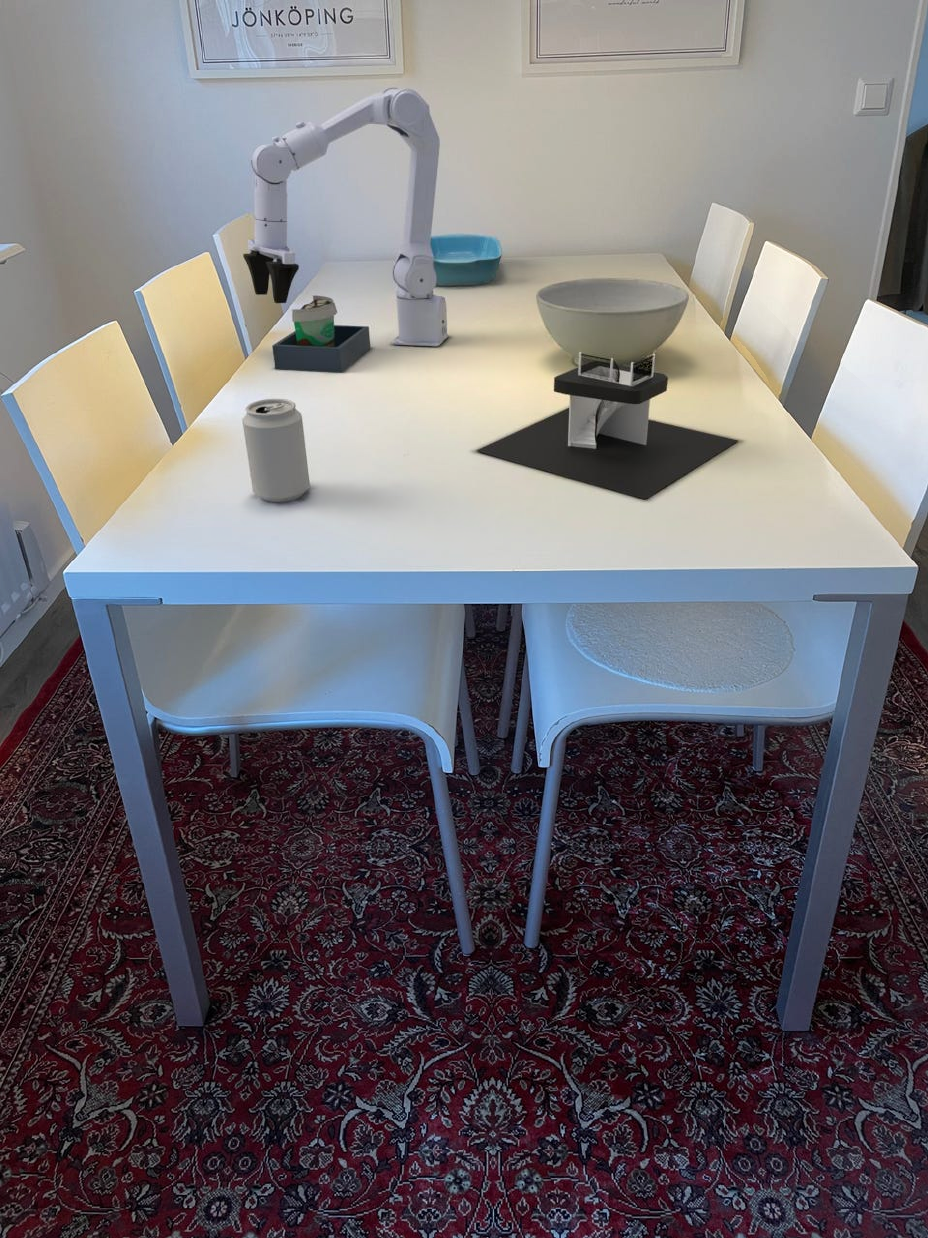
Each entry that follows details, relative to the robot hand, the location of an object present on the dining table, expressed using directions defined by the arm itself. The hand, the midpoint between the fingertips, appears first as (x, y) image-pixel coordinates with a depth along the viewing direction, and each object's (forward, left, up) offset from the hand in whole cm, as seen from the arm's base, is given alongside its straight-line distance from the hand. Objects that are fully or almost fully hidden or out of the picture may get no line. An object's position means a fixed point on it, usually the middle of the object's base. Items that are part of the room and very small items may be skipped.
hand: (270, 298), depth 174 cm
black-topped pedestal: (-67, +35, -11) cm, 77 cm away
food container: (-9, -1, -11) cm, 14 cm away
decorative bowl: (-62, -8, -11) cm, 64 cm away
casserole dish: (-15, -80, -11) cm, 82 cm away
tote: (-9, -1, -11) cm, 14 cm away
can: (-27, +60, -11) cm, 67 cm away
